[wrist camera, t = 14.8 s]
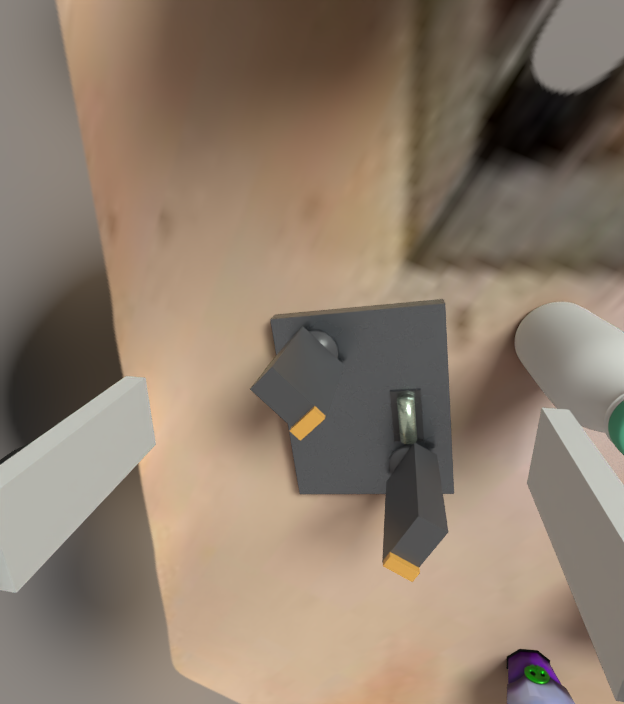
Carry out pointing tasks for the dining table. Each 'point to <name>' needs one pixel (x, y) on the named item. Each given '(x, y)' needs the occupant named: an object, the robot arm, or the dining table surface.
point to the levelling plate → (376, 395)
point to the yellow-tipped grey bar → (302, 380)
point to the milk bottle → (577, 364)
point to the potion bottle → (533, 680)
